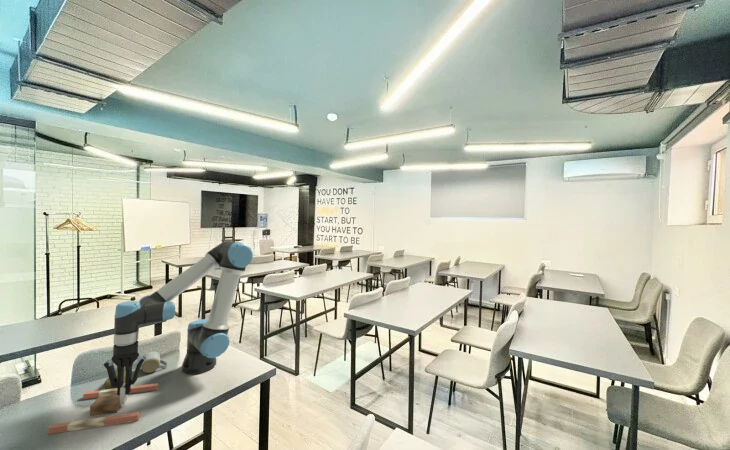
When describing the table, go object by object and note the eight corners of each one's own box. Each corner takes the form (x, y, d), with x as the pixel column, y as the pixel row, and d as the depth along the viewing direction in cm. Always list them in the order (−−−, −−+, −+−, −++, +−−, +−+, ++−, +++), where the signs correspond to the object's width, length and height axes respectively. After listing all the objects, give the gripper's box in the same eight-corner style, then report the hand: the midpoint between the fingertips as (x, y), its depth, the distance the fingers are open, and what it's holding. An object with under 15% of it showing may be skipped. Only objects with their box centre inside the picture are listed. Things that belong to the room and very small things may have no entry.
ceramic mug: (140, 376, 135) (142, 359, 135) (140, 368, 141) (141, 352, 141) (168, 369, 142) (169, 354, 142) (166, 363, 148) (167, 348, 148)
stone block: (102, 394, 120) (103, 382, 120) (113, 380, 131) (114, 369, 131) (120, 392, 122) (120, 380, 122) (129, 378, 133) (130, 367, 133)
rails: (130, 391, 123) (130, 386, 123) (103, 425, 102) (103, 420, 102) (101, 394, 120) (101, 389, 120) (67, 431, 99) (67, 425, 99)
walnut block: (123, 403, 115) (123, 393, 115) (116, 413, 109) (116, 402, 109) (98, 407, 112) (98, 396, 112) (89, 417, 107) (90, 406, 107)
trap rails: (158, 387, 126) (158, 383, 126) (137, 420, 106) (138, 415, 106) (85, 396, 118) (86, 391, 118) (48, 434, 97) (48, 428, 97)
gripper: (149, 337, 119) (146, 394, 119) (110, 340, 114) (107, 399, 114) (142, 344, 112) (139, 405, 112) (100, 347, 107) (97, 411, 107)
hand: (123, 402), depth 113 cm, fingers closed
